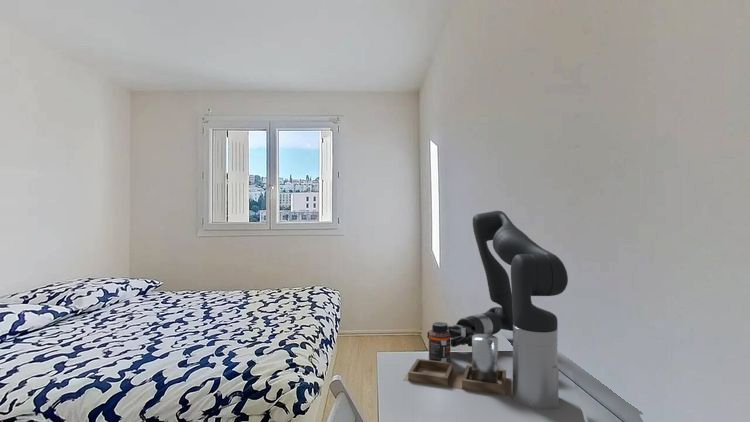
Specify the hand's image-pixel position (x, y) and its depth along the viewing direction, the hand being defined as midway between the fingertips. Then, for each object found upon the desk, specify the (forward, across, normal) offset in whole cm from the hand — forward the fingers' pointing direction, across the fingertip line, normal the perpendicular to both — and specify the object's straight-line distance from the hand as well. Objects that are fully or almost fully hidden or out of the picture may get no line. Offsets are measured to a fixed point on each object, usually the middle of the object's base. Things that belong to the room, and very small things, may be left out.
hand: (439, 339), depth 110 cm
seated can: (+3, +17, +6) cm, 18 cm away
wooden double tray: (+6, +11, +7) cm, 15 cm away
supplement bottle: (0, 0, +7) cm, 7 cm away
